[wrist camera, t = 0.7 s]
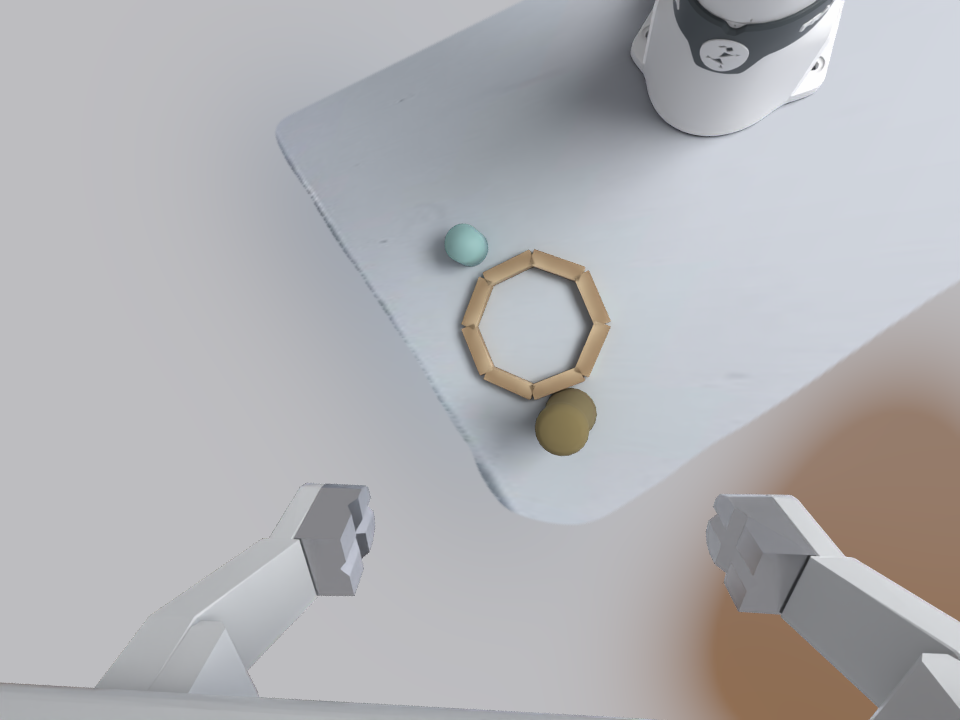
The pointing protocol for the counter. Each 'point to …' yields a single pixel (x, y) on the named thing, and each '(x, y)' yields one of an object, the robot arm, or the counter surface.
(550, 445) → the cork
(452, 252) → the loose bead
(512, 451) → the counter surface
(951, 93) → the counter surface
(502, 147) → the counter surface
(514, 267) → the wooden segmented ring
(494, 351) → the counter surface
